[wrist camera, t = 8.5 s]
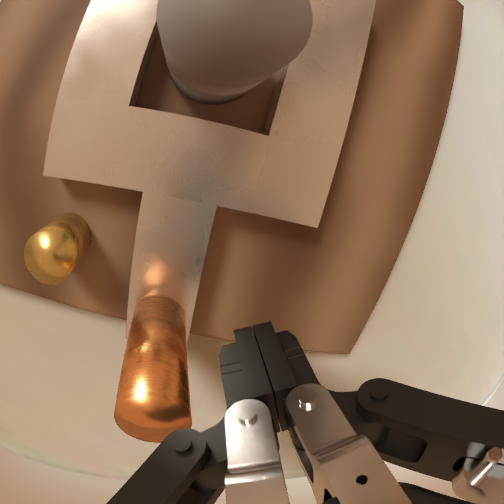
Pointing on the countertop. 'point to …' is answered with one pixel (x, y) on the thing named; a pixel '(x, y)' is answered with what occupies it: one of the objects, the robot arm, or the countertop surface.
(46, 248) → the gold rounded piece
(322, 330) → the post board
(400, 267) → the countertop surface
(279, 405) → the robot arm
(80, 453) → the countertop surface
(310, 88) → the square frame with handle
